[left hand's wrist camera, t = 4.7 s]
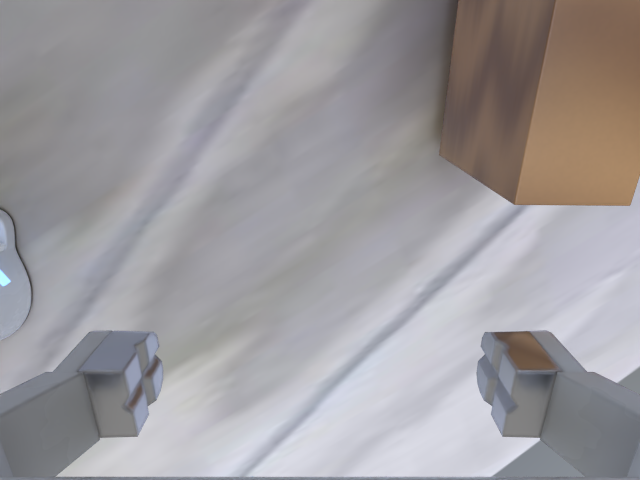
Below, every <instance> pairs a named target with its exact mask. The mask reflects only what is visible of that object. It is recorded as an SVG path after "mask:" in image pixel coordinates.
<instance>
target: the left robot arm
mask: <svg viewBox="0 0 640 480" xmlns="http://www.w3.org/2000/svg"><path fill="white" fill-rule="evenodd" d="M30 306H31V286H30V282H29V278H28V275H27V272H26V270H25V268H24V266H23V264H22V262H21V260H20V258H19V256H18V253H17V251H16V248H15V232H14V225H13V222H12V220H11V218H10V216H9V215H8V214H7V213H6V212H4V211H3V210H1V209H0V340H2V339H5V338H7V337H8V336H10V335H12V334H13V333H14V332H15V331H17V330H18V329H19V328H20V327H21V325H22V324H23V323H24V321H25V320H26V318H27V316H28V313H29V310H30ZM158 348H159V342H158V337H157V335H156V334H155V333H154V332H149V331H92V332H89V333H88V334H87V335H86V336H85V337H84V338H83V339H82V341H81V342H80V343H79V344H78V345H77V346H76V347H75V348H74V349H73V350H72V351H71V353H70V354H69V355H68V356H67V357H66V358H65V359H64V360H63V361H62V362H61V363H60V365H59V366H58V367H57V368H56V369H55V370H54V371H53V372H45V373H43V374H41V375H39V376H37V377H35V378H33V379H31V380H29V381H27V382H25V383H22V384H20V385H18V386H16V387H14V388H12V389H10V390H8V391H6V392H4V393H2V394H0V480H640V394H638V393H636V392H634V391H632V390H630V389H628V388H626V387H624V386H621V385H620V384H618V383H615V382H613V381H611V380H609V379H607V378H605V377H603V376H601V375H599V374H597V373H595V372H587V371H586V370H585V369H584V368H583V367H582V366H581V365H580V363H579V362H578V361H577V360H576V359H575V358H574V357H573V356H572V355H571V354H570V353H569V351H568V350H567V349H566V348H565V347H564V346H563V345H562V344H561V343H560V342H559V341H558V339H557V338H556V337H555V336H554V335H553V334H552V333H551V332H549V331H546V330H543V331H521V332H485V333H484V335H483V337H482V342H481V348H482V350H483V351H484V353H485V355H484V356H483V357H482V358H481V359H480V360H479V361H478V366H477V383H478V387H479V391H480V393H481V395H482V397H483V400H484V401H486V402H487V403H489V404H490V405H491V406H492V411H491V415H492V417H493V419H494V421H495V423H496V425H497V427H498V429H499V431H500V433H501V435H502V437H533V438H540V440H541V441H543V442H544V443H545V444H546V445H547V446H549V447H550V448H551V449H552V450H553V451H555V452H556V453H557V454H558V455H559V456H561V457H562V458H563V459H564V460H566V461H567V462H568V463H569V464H570V465H572V466H573V467H574V468H575V469H577V470H578V471H579V472H580V473H581V474H582V475H584V476H585V477H55V476H56V475H58V474H59V473H60V472H61V471H63V470H64V469H65V468H66V467H67V466H69V465H70V464H71V463H72V462H73V461H75V460H76V459H77V458H78V457H79V456H81V455H82V454H83V453H84V452H86V451H87V450H88V449H89V448H90V447H92V446H93V445H94V444H95V443H96V442H98V441H99V440H100V438H107V437H138V435H139V433H140V431H141V429H142V427H143V425H144V423H145V421H146V419H147V417H148V415H149V411H148V406H149V405H150V404H151V403H153V402H154V401H156V400H157V397H158V395H159V393H160V391H161V387H162V382H163V365H162V361H161V360H160V359H159V358H158V357H157V356H156V355H155V353H156V351H157V350H158Z"/></svg>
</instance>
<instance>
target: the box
mask: <svg viewBox="0 0 640 480" xmlns="http://www.w3.org/2000/svg"><path fill="white" fill-rule="evenodd" d="M439 155H440V156H442V157H443V158H445V159H446V160H448V161H449V162H451V163H452V164H454V165H455V166H457V167H458V168H460V169H461V170H463V171H464V172H466V173H467V174H469V175H470V176H472V177H473V178H475V179H476V180H478V181H479V182H481V183H482V184H484V185H485V186H487V187H488V188H490V189H491V190H493V191H494V192H496V193H497V194H499V195H500V196H502V197H503V198H505V199H506V200H508V201H510V202H511V203H513V204H514V205H605V206H629V205H631V202H632V198H633V195H634V192H635V189H636V186H637V183H638V179H639V176H640V0H458V8H457V16H456V24H455V32H454V40H453V48H452V56H451V64H450V72H449V80H448V88H447V96H446V104H445V112H444V120H443V128H442V136H441V144H440V152H439Z"/></svg>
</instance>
